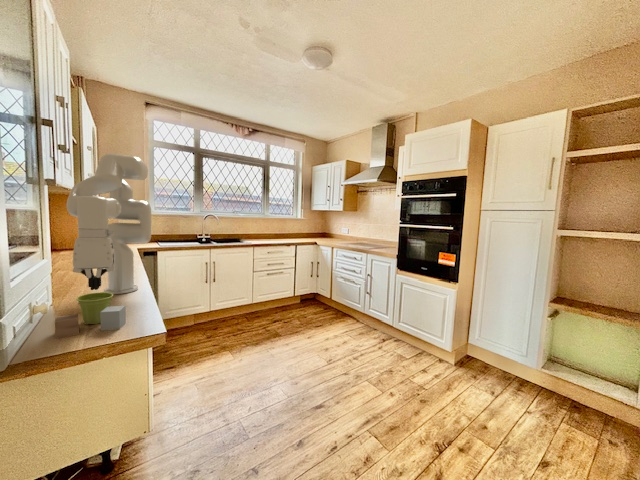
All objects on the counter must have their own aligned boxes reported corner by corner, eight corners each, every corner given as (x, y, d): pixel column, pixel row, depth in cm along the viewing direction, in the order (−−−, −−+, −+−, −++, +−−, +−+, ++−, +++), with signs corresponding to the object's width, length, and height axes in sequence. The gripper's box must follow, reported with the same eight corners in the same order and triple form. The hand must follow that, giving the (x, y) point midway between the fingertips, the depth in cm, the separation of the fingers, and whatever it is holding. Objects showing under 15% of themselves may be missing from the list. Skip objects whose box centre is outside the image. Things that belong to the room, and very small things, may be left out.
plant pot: (106, 313, 95) (106, 290, 95) (118, 320, 91) (118, 295, 90) (72, 322, 87) (71, 296, 87) (84, 329, 83) (83, 302, 82)
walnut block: (56, 332, 80) (55, 316, 79) (78, 328, 83) (78, 313, 83) (55, 339, 76) (54, 322, 76) (78, 334, 80) (78, 318, 79)
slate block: (107, 324, 87) (107, 306, 87) (125, 323, 89) (125, 305, 88) (100, 330, 83) (99, 312, 82) (119, 329, 84) (119, 310, 84)
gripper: (123, 233, 93) (124, 284, 95) (67, 233, 86) (69, 287, 88) (119, 235, 87) (120, 289, 88) (58, 234, 80) (60, 294, 81)
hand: (95, 288), depth 88 cm, fingers closed
